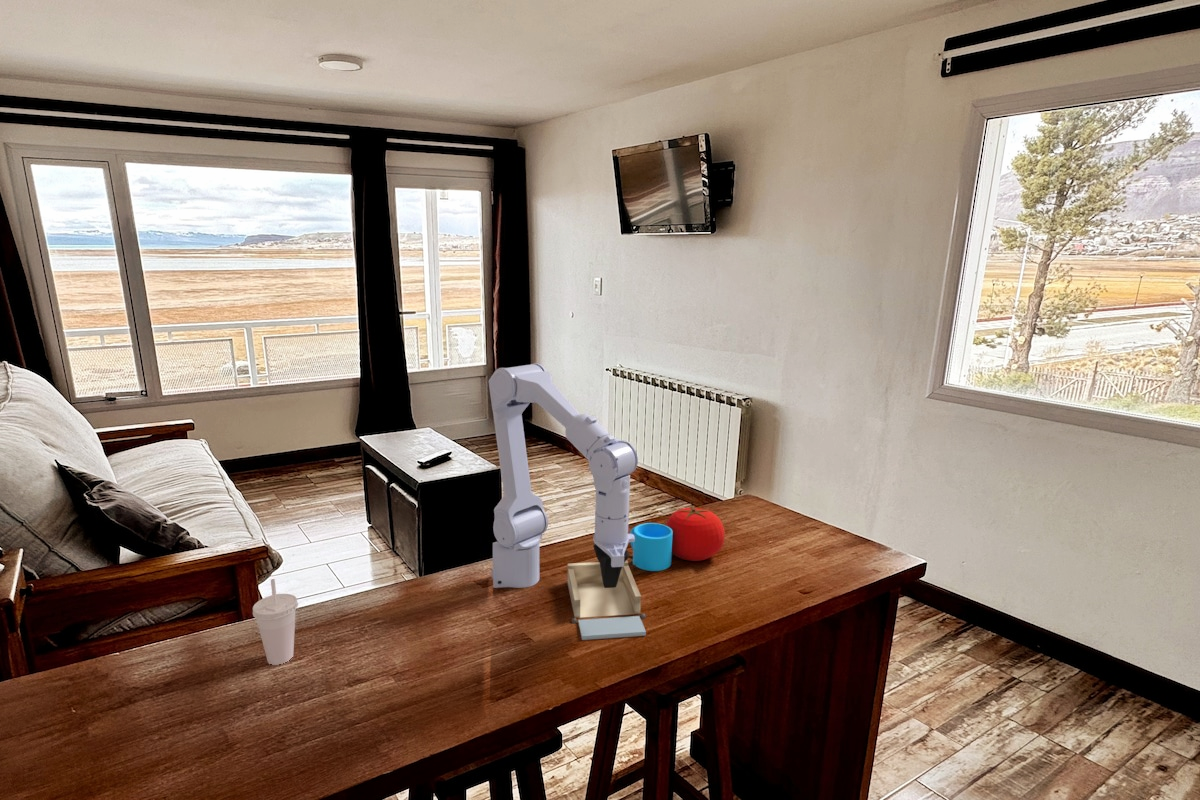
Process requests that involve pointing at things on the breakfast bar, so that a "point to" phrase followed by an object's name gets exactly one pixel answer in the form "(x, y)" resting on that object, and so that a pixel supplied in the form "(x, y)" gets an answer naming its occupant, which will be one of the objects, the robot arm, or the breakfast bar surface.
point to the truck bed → (601, 592)
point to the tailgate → (611, 627)
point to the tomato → (695, 533)
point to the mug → (652, 546)
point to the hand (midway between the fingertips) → (609, 585)
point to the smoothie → (277, 625)
